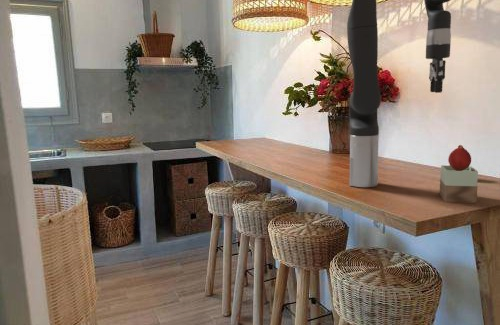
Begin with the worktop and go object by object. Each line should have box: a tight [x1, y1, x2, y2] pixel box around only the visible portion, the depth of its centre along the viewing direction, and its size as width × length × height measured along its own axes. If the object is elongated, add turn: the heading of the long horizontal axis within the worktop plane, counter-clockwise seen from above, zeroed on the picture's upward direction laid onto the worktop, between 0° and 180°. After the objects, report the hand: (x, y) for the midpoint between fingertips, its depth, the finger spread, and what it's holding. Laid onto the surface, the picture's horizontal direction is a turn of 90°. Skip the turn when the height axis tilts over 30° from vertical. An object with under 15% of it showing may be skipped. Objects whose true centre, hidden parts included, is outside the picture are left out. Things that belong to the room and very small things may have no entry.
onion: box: [447, 144, 472, 171], centre depth 113 cm, size 6×6×8 cm
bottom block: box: [439, 179, 479, 204], centre depth 115 cm, size 8×8×5 cm
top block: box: [439, 164, 479, 186], centre depth 114 cm, size 8×8×4 cm
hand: (435, 92), depth 137 cm, fingers open, 8 cm apart
